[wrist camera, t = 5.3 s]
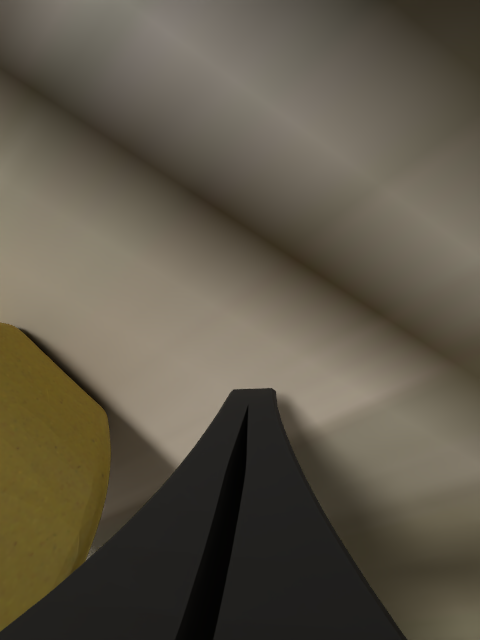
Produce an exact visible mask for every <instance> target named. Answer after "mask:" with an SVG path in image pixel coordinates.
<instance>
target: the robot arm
mask: <svg viewBox="0 0 480 640" xmlns="http://www.w3.org/2000/svg"><path fill="white" fill-rule="evenodd" d="M0 640H407V639H406V637H405V636H404V635H403V633H402V632H401V630H400V629H399V627H398V626H397V625H396V623H395V622H394V620H393V619H392V617H391V616H390V614H389V613H388V611H387V610H386V609H385V607H384V606H383V604H382V603H381V601H380V600H379V598H378V597H377V595H376V594H375V593H374V591H373V590H372V588H371V587H370V585H369V584H368V582H367V581H366V579H365V577H364V576H363V574H362V573H361V571H360V570H359V568H358V566H357V565H356V563H355V562H354V560H353V559H352V557H351V556H350V554H349V552H348V551H347V549H346V548H345V546H344V545H343V543H342V541H341V540H340V538H339V537H338V535H337V533H336V532H335V530H334V528H333V527H332V525H331V523H330V522H329V520H328V518H327V516H326V515H325V513H324V511H323V510H322V508H321V506H320V504H319V502H318V500H317V499H316V497H315V495H314V493H313V491H312V489H311V487H310V486H309V484H308V482H307V480H306V478H305V476H304V474H303V472H302V469H301V467H300V465H299V463H298V461H297V459H296V457H295V454H294V452H293V450H292V447H291V445H290V442H289V440H288V437H287V435H286V432H285V430H284V427H283V424H282V421H281V418H280V414H279V411H278V407H277V399H276V391H275V390H273V389H272V388H266V389H235V390H232V391H231V393H230V394H229V396H228V398H227V399H226V401H225V402H224V404H223V406H222V407H221V409H220V410H219V412H218V414H217V415H216V417H215V418H214V420H213V421H212V423H211V424H210V425H209V427H208V428H207V430H206V431H205V433H204V434H203V435H202V437H201V438H200V440H199V441H198V442H197V444H196V445H195V446H194V448H193V449H192V450H191V452H190V453H189V454H188V455H187V457H186V458H185V459H184V460H183V462H182V463H181V464H180V466H179V467H178V468H177V469H176V470H175V472H174V473H173V474H172V475H171V476H170V478H169V479H168V480H167V481H166V482H165V483H164V484H163V486H162V487H161V488H160V489H159V490H158V491H157V492H156V493H155V494H154V495H153V497H152V498H151V499H150V500H149V501H148V502H147V503H146V504H145V505H144V506H143V507H142V508H141V509H140V510H139V511H138V512H137V513H136V514H135V515H134V516H133V517H132V518H131V519H130V520H129V521H128V522H127V523H126V524H125V525H124V526H123V527H122V528H121V529H120V530H119V531H118V532H117V533H116V534H115V535H114V536H113V537H112V538H111V539H110V540H109V541H108V542H106V543H105V544H104V545H103V546H102V547H101V548H100V549H99V550H98V551H96V552H95V553H94V554H93V555H92V556H91V557H90V558H88V559H87V560H86V561H85V562H84V563H83V564H82V565H81V566H79V567H78V568H77V569H76V570H75V571H74V572H73V573H72V574H70V575H69V576H68V577H67V578H66V579H65V580H64V581H63V582H61V583H60V584H59V585H58V586H57V587H55V588H54V589H53V590H52V591H51V592H49V593H48V594H47V595H46V596H45V597H43V598H42V599H41V600H40V601H38V602H37V603H36V604H35V605H33V606H32V607H31V608H29V609H28V610H27V611H26V612H24V613H23V614H22V615H21V616H19V617H18V618H17V619H16V620H14V621H13V622H12V623H10V624H9V625H8V626H7V627H5V628H4V629H3V630H2V631H0Z"/></svg>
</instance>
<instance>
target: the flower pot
mask: <svg viewBox="0 0 480 640" xmlns="http://www.w3.org/2000/svg"><path fill="white" fill-rule="evenodd" d="M110 459H111V446H110V433H109V424H108V418H107V414H106V413H105V411H104V410H103V408H102V407H101V406H100V405H99V404H98V403H96V402H95V401H94V400H93V399H92V398H91V397H90V396H89V395H88V394H87V393H86V392H85V391H83V390H82V389H81V388H80V387H79V386H78V385H77V384H76V383H75V382H74V381H73V380H72V379H71V378H70V377H69V376H67V375H66V374H65V373H64V372H63V371H62V370H61V369H60V368H59V367H58V366H57V365H56V364H55V363H54V362H53V361H52V360H51V359H50V358H49V357H48V356H47V355H46V354H44V353H43V352H42V351H41V350H40V349H39V348H38V347H37V346H36V345H35V344H34V343H33V342H32V341H31V340H30V339H29V338H28V337H27V336H26V335H25V334H24V333H23V332H21V331H20V330H19V329H18V328H16V327H15V326H12V325H9V324H5V323H0V631H2V630H3V629H4V628H5V627H7V626H8V625H9V624H10V623H12V622H13V621H14V620H16V619H17V618H18V617H19V616H21V615H22V614H23V613H24V612H26V611H27V610H28V609H29V608H31V607H32V606H33V605H35V604H36V603H37V602H38V601H40V600H41V599H42V598H43V597H45V596H46V595H47V594H48V593H49V592H51V591H52V590H53V589H54V588H55V587H57V586H58V585H59V584H60V583H61V582H63V581H64V580H65V579H66V578H67V577H68V576H69V575H70V574H72V573H73V572H74V571H75V570H76V569H77V568H78V567H79V566H81V565H82V564H83V563H84V562H85V561H86V558H87V555H88V553H89V550H90V547H91V545H92V542H93V540H94V537H95V534H96V531H97V528H98V524H99V521H100V518H101V514H102V511H103V507H104V503H105V499H106V494H107V488H108V482H109V474H110Z"/></svg>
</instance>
